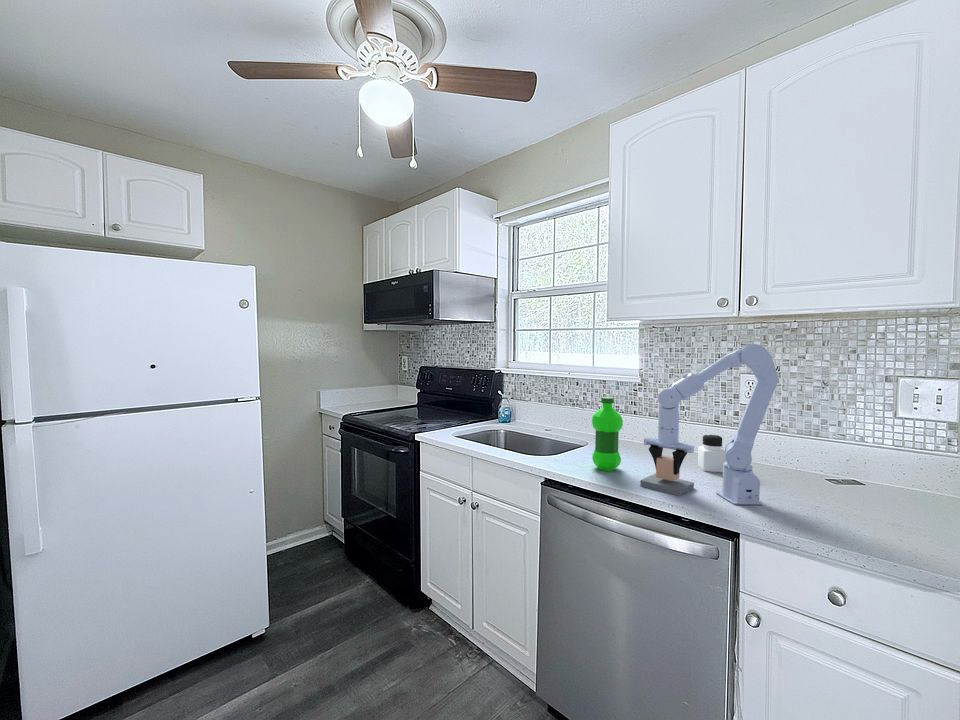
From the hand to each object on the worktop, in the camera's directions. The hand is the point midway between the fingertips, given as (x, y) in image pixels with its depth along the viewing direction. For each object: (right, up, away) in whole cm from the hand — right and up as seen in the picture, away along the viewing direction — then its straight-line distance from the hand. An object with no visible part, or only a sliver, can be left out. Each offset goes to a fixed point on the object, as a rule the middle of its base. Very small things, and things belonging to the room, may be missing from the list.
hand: (667, 471), depth 132 cm
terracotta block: (0, -2, 0) cm, 2 cm away
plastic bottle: (-13, -4, +19) cm, 24 cm away
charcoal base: (0, -5, 0) cm, 5 cm away
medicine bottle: (+24, -4, +19) cm, 31 cm away
